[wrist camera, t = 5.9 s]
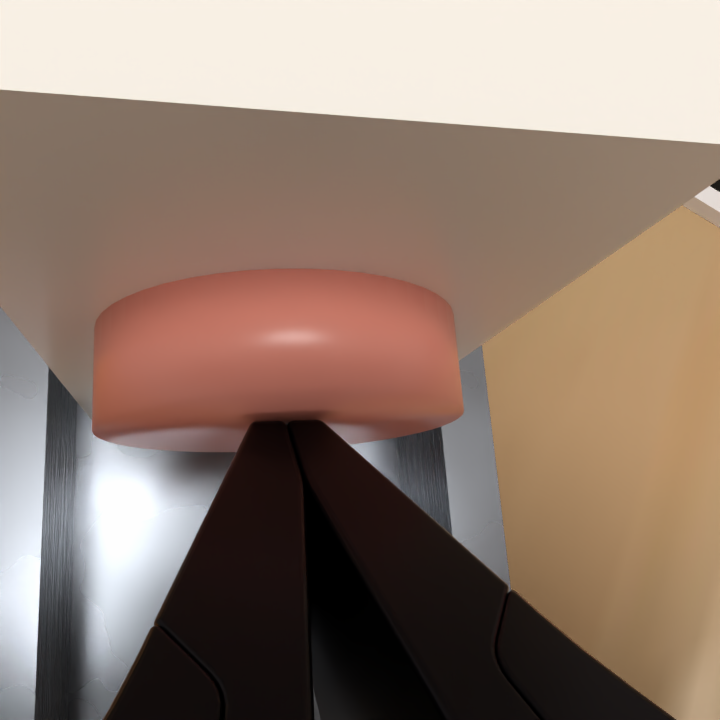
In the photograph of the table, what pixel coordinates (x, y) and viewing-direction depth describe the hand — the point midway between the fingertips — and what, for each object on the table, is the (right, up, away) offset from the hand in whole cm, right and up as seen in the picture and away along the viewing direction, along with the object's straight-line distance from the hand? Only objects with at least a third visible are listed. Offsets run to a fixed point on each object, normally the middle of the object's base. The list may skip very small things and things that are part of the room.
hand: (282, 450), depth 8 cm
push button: (-2, +1, +7) cm, 7 cm away
